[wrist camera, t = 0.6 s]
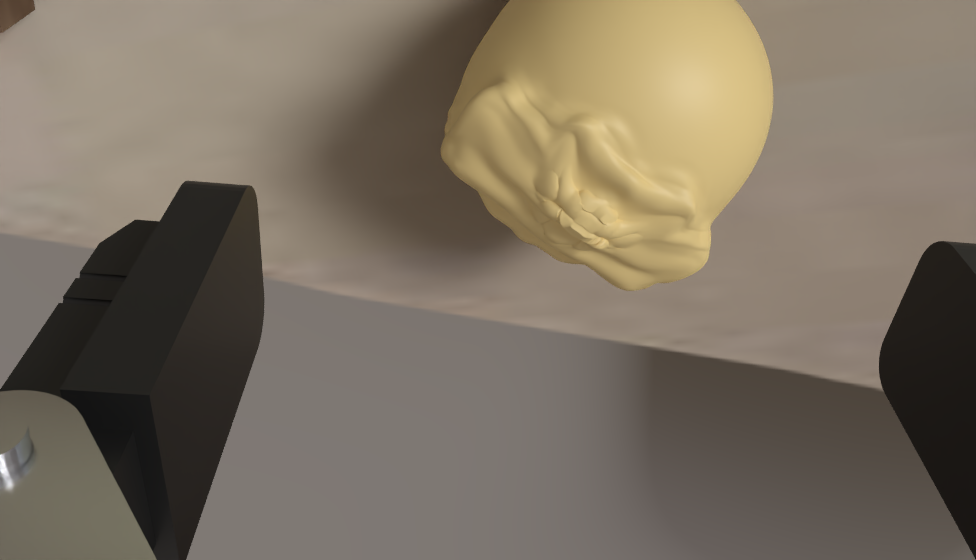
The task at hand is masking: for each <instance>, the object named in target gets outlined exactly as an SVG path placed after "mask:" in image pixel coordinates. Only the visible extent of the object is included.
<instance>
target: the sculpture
mask: <svg viewBox="0 0 976 560" xmlns="http://www.w3.org/2000/svg"><path fill="white" fill-rule="evenodd" d="M772 109H773V84H772V76H771V70H770V65H769V61H768V58H767V55H766V52H765V49H764V46H763V44H762V41H761V39H760V37H759V35H758V33H757V31H756V29H755V27H754V25H753V24H752V22H751V20H750V19H749V17H748V16H747V14H746V13H745V12H744V10H743V9H742V8H741V6H740V5H739V4H738V3H737V1H736V0H510V1H509V2H508V3H507V4H506V5H505V7H504V8H503V9H502V11H501V12H500V13H499V15H498V16H497V18H496V19H495V21H494V22H493V24H492V25H491V27H490V28H489V30H488V31H487V33H486V34H485V36H484V37H483V39H482V41H481V42H480V44H479V45H478V47H477V49H476V50H475V52H474V54H473V56H472V57H471V59H470V61H469V63H468V66H467V68H466V70H465V73H464V75H463V78H462V82H461V85H460V87H459V90H458V92H457V94H456V96H455V99H454V101H453V104H452V106H451V107H450V109H449V111H448V121H447V123H446V125H445V129H444V132H445V137H444V139H443V142H442V146H441V157H442V159H443V161H444V162H445V163H446V164H447V165H448V166H449V168H450V169H451V170H452V172H453V173H454V174H455V175H456V176H457V177H458V178H459V179H461V180H462V181H463V182H465V183H466V184H468V185H469V186H471V187H472V188H474V189H475V190H477V191H478V193H479V195H480V197H481V199H482V201H483V203H484V205H485V207H486V208H487V210H488V211H489V213H490V214H491V215H492V216H493V217H495V218H496V219H498V220H499V221H501V222H502V223H504V224H505V225H507V226H508V227H509V228H511V229H512V231H513V232H514V233H515V235H516V236H517V237H518V238H519V239H521V240H522V241H524V242H526V243H528V244H533V245H535V246H537V247H538V248H540V249H541V250H543V251H544V252H546V253H547V254H549V255H550V256H552V257H553V258H555V259H556V260H558V261H561V262H565V263H571V264H583V265H586V266H588V267H589V268H591V269H592V270H594V271H595V272H596V273H597V274H599V275H600V276H601V277H602V278H604V279H605V280H606V281H608V282H609V283H611V284H612V285H614V286H615V287H617V288H619V289H622V290H626V291H634V290H641V289H645V288H648V287H650V286H651V285H653V284H656V283H669V282H674V281H677V280H680V279H683V278H686V277H688V276H690V275H692V274H694V273H695V272H697V271H698V270H700V269H701V268H702V267H703V266H704V265H705V263H706V262H707V260H708V257H709V250H710V245H711V231H710V227H711V224H712V222H713V221H714V220H715V218H716V217H717V216H718V215H719V213H720V212H721V211H722V210H723V209H724V208H725V206H726V205H727V204H728V203H729V202H730V200H731V199H732V198H733V197H734V196H735V195H736V193H737V192H738V191H739V190H740V188H741V187H742V185H743V184H744V183H745V181H746V180H747V178H748V177H749V175H750V173H751V172H752V170H753V168H754V166H755V164H756V162H757V160H758V158H759V156H760V154H761V152H762V149H763V147H764V144H765V141H766V138H767V135H768V131H769V127H770V122H771V117H772Z"/></svg>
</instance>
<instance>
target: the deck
mask: <svg viewBox="0 0 976 560" xmlns="http://www.w3.org/2000/svg"><path fill="white" fill-rule="evenodd" d="M33 10H35V6H34V1H33V0H0V33H3V32H4V31H5V30H7V29H8V28H10V27H11V26H12V25H14V24H15V23H17V22H18V21H19V20H21V19H22V18H24V17H25V16H26V15H28V14H29V13H31V12H32V11H33Z"/></svg>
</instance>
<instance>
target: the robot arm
mask: <svg viewBox="0 0 976 560" xmlns="http://www.w3.org/2000/svg"><path fill="white" fill-rule="evenodd" d="M63 299H64V300H63V303H59V304H58V305H57V307H56V308H55V310H54V311H53V313H52V314H51V316H50V317H49V319H48V320H47V322H46V323H45V325H44V326H43V327H42V329H41V331H40V332H39V333H38V335H37V336H36V338H35V339H34V341H33V342H32V344H31V345H30V347H29V348H28V350H27V351H26V353H25V354H24V355H23V357H22V358H21V360H20V361H19V363H18V364H17V366H16V367H15V369H14V370H13V372H12V373H11V375H10V376H9V377H8V379H7V381H6V382H5V383H4V385H3V386H2V388H1V389H0V560H186V558H187V555H188V552H189V549H190V546H191V543H192V540H193V538H194V535H195V532H196V529H197V526H198V523H199V520H200V517H201V514H202V511H203V508H204V505H205V502H206V499H207V496H208V493H209V491H210V487H211V485H212V482H213V479H214V476H215V473H216V470H217V467H218V464H219V461H220V458H221V455H222V452H223V449H224V446H225V443H226V441H227V437H228V435H229V432H230V429H231V426H232V422H233V420H234V417H235V414H236V411H237V408H238V405H239V402H240V399H241V396H242V393H243V391H244V388H245V385H246V382H247V379H248V376H249V373H250V370H251V367H252V364H253V361H254V358H255V355H256V352H257V350H258V346H259V342H260V338H261V333H262V326H263V317H264V287H263V273H262V259H261V245H260V231H259V218H258V205H257V198H256V193H255V190H254V188H253V187H252V186H248V185H235V184H222V183H210V182H197V181H185V182H184V183H183V184H182V185H181V187H180V188H179V190H178V192H177V193H176V195H175V197H174V198H173V200H172V202H171V203H170V205H169V207H168V208H167V210H166V212H165V213H164V215H163V217H162V218H161V220H160V222H158V221H145V220H134V221H133V222H131V223H130V224H128V225H127V226H125V227H124V228H122V229H120V230H119V231H117V232H116V233H114V234H113V235H111V236H110V237H108V238H107V239H105V240H104V241H102V242H101V243H99V245H98V246H97V248H96V249H95V251H94V252H93V254H92V255H91V257H90V258H89V260H88V261H87V263H86V264H85V266H84V267H83V269H82V270H81V271H80V278H76V279H75V280H74V282H73V283H72V285H71V286H70V288H69V289H68V291H67V292H66V294H65V295H64V296H63ZM879 374H880V380H881V384H882V388H883V390H884V392H885V394H886V396H887V398H888V400H889V401H890V404H891V405H892V407H893V409H894V411H895V413H896V415H897V416H898V418H899V420H900V422H901V424H902V426H903V427H904V429H905V431H906V433H907V434H908V436H909V438H910V440H911V442H912V444H913V446H914V447H915V449H916V451H917V453H918V455H919V456H920V458H921V460H922V462H923V464H924V466H925V467H926V469H927V471H928V473H929V475H930V477H931V479H932V480H933V482H934V484H935V486H936V487H937V489H938V491H939V493H940V495H941V497H942V499H943V500H944V502H945V504H946V506H947V508H948V510H949V511H950V513H951V515H952V517H953V519H954V521H955V522H956V524H957V526H958V528H959V530H960V532H961V533H962V535H963V537H964V539H965V541H966V542H967V544H968V546H969V548H970V550H971V551H972V553H973V555H974V557H975V559H976V244H972V243H959V242H946V241H939V242H936V243H933V244H932V245H930V246H929V247H928V248H927V249H926V251H925V252H924V253H923V255H922V257H921V259H920V261H919V263H918V265H917V267H916V269H915V272H914V274H913V276H912V278H911V280H910V283H909V285H908V287H907V289H906V292H905V294H904V296H903V298H902V300H901V303H900V305H899V307H898V309H897V312H896V314H895V316H894V318H893V320H892V323H891V325H890V327H889V329H888V331H887V334H886V336H885V338H884V341H883V343H882V347H881V351H880V357H879Z"/></svg>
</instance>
